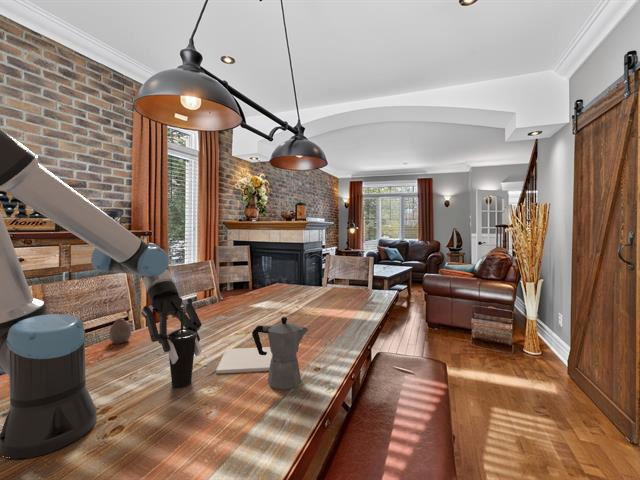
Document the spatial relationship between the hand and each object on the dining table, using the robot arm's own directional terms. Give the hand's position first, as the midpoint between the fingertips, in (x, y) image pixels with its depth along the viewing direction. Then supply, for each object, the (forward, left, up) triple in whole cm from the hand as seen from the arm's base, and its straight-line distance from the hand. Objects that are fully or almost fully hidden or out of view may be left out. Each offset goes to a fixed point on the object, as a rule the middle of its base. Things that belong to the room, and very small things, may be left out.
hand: (187, 357), depth 81 cm
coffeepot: (+1, -24, -9) cm, 26 cm away
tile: (+16, -14, -8) cm, 22 cm away
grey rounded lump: (+38, +35, -9) cm, 52 cm away
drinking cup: (+3, +2, -9) cm, 9 cm away
